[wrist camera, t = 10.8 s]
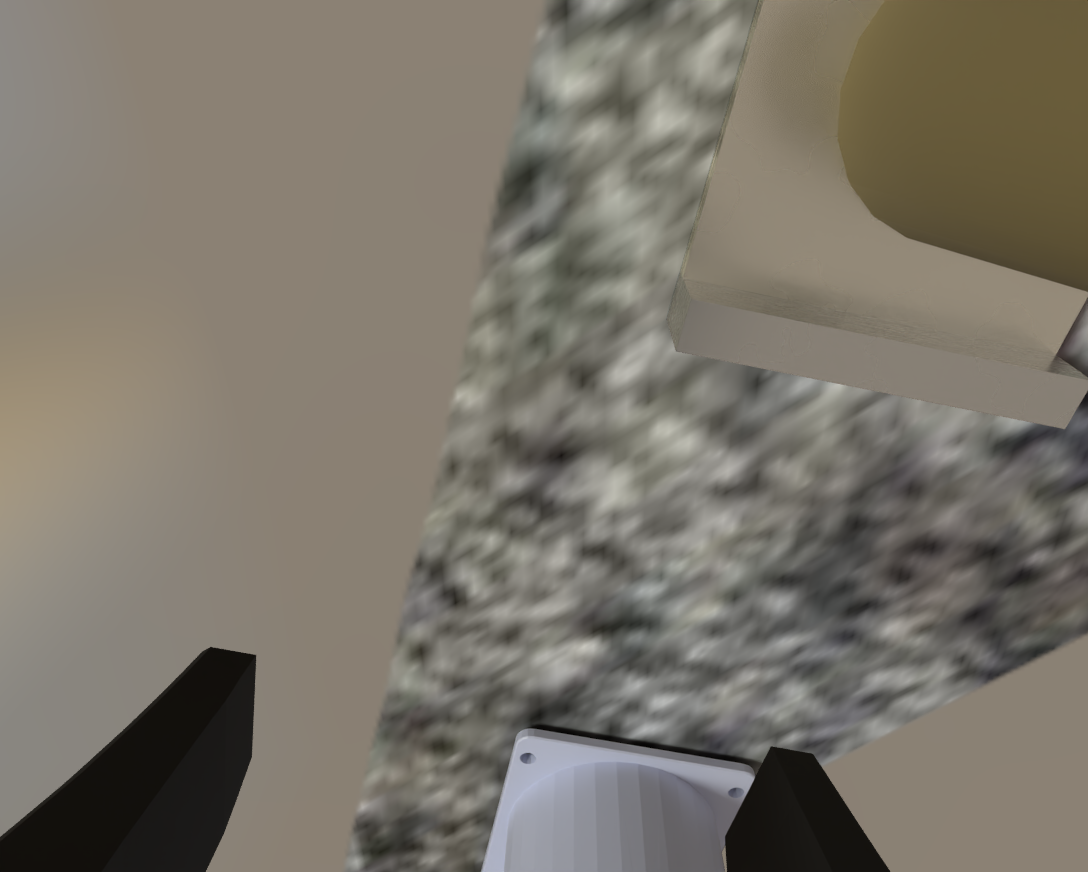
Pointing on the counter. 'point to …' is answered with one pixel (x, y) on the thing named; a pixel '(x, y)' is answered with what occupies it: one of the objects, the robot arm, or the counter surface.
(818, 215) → the bottom track
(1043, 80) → the brown rounded piece
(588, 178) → the counter surface
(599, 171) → the counter surface
